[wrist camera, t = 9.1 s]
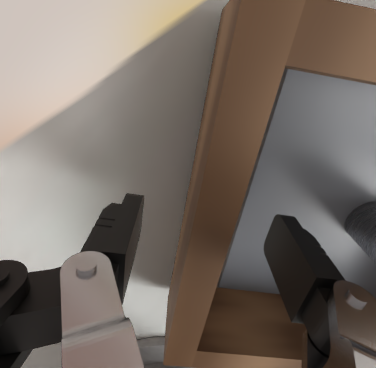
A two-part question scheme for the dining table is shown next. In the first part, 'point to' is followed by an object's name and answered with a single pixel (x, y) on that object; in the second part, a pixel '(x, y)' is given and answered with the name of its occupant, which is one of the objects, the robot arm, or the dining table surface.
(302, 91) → the slate plate
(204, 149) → the walnut collar
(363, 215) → the steel post
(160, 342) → the mate gourd
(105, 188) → the dining table surface
